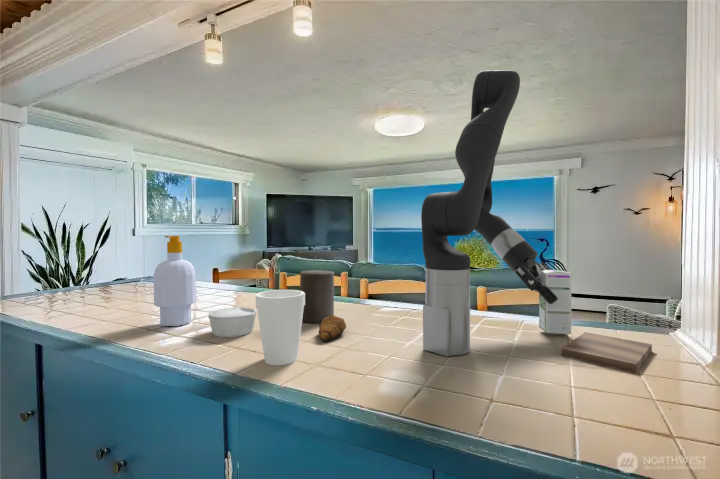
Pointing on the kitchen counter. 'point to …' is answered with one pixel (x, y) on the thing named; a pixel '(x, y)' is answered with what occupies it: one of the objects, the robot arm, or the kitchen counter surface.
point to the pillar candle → (317, 295)
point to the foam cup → (280, 324)
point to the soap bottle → (174, 286)
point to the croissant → (331, 328)
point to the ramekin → (232, 321)
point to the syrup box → (556, 303)
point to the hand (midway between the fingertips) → (560, 299)
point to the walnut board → (608, 351)
